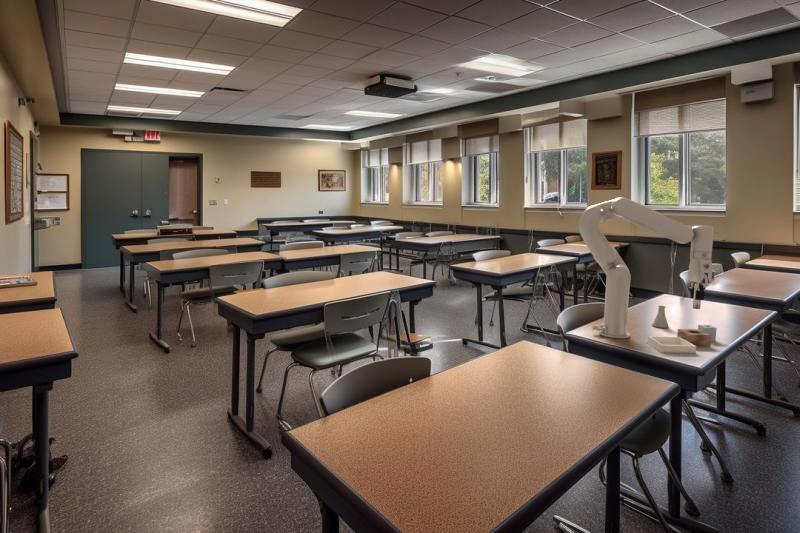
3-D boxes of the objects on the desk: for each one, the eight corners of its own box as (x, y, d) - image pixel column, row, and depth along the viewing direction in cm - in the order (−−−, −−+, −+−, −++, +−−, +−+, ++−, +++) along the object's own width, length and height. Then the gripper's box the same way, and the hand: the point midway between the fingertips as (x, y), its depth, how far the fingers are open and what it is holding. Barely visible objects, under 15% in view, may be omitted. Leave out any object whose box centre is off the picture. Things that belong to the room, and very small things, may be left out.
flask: (669, 326, 233) (671, 305, 232) (668, 329, 227) (669, 308, 226) (652, 323, 237) (654, 304, 236) (651, 327, 231) (652, 306, 230)
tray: (661, 352, 191) (662, 345, 191) (647, 343, 204) (647, 336, 204) (695, 353, 191) (696, 346, 190) (679, 344, 203) (679, 337, 203)
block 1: (687, 346, 200) (688, 334, 200) (676, 340, 209) (677, 328, 208) (710, 346, 200) (711, 335, 199) (698, 340, 209) (699, 329, 208)
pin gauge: (694, 309, 201) (697, 280, 200) (691, 307, 204) (693, 279, 202) (701, 309, 201) (704, 280, 199) (698, 307, 204) (700, 279, 202)
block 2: (703, 341, 208) (704, 327, 208) (697, 337, 213) (698, 324, 213) (715, 341, 208) (716, 327, 207) (708, 338, 213) (710, 324, 212)
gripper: (721, 257, 191) (717, 303, 194) (699, 253, 207) (695, 295, 210) (702, 257, 192) (698, 302, 194) (681, 253, 208) (678, 295, 210)
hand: (697, 298), depth 202 cm, fingers closed on pin gauge, 2 cm apart
